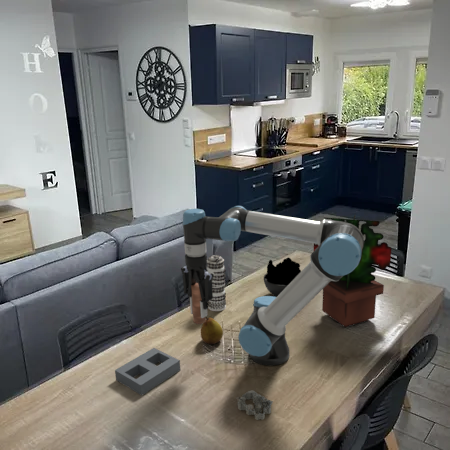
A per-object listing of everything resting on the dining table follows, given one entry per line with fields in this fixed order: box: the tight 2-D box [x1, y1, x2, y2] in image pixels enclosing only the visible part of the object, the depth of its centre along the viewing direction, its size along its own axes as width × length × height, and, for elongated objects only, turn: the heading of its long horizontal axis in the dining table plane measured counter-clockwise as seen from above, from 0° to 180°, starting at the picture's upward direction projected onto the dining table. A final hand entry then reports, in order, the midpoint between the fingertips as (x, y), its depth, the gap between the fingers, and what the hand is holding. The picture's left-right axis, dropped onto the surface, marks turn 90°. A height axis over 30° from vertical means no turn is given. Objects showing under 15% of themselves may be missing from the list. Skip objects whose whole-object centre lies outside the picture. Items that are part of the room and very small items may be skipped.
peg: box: [191, 282, 206, 325], centre depth 163 cm, size 4×4×14 cm
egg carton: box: [235, 390, 274, 421], centre depth 144 cm, size 11×8×4 cm
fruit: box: [200, 316, 224, 346], centre depth 183 cm, size 9×9×12 cm
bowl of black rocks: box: [263, 257, 302, 297], centre depth 219 cm, size 20×20×19 cm
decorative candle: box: [206, 254, 227, 312], centre depth 209 cm, size 9×9×25 cm
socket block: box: [114, 347, 181, 396], centre depth 163 cm, size 14×18×4 cm
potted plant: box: [313, 214, 392, 328], centre depth 193 cm, size 22×22×45 cm
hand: (199, 314), depth 164 cm, fingers closed on peg, 4 cm apart
